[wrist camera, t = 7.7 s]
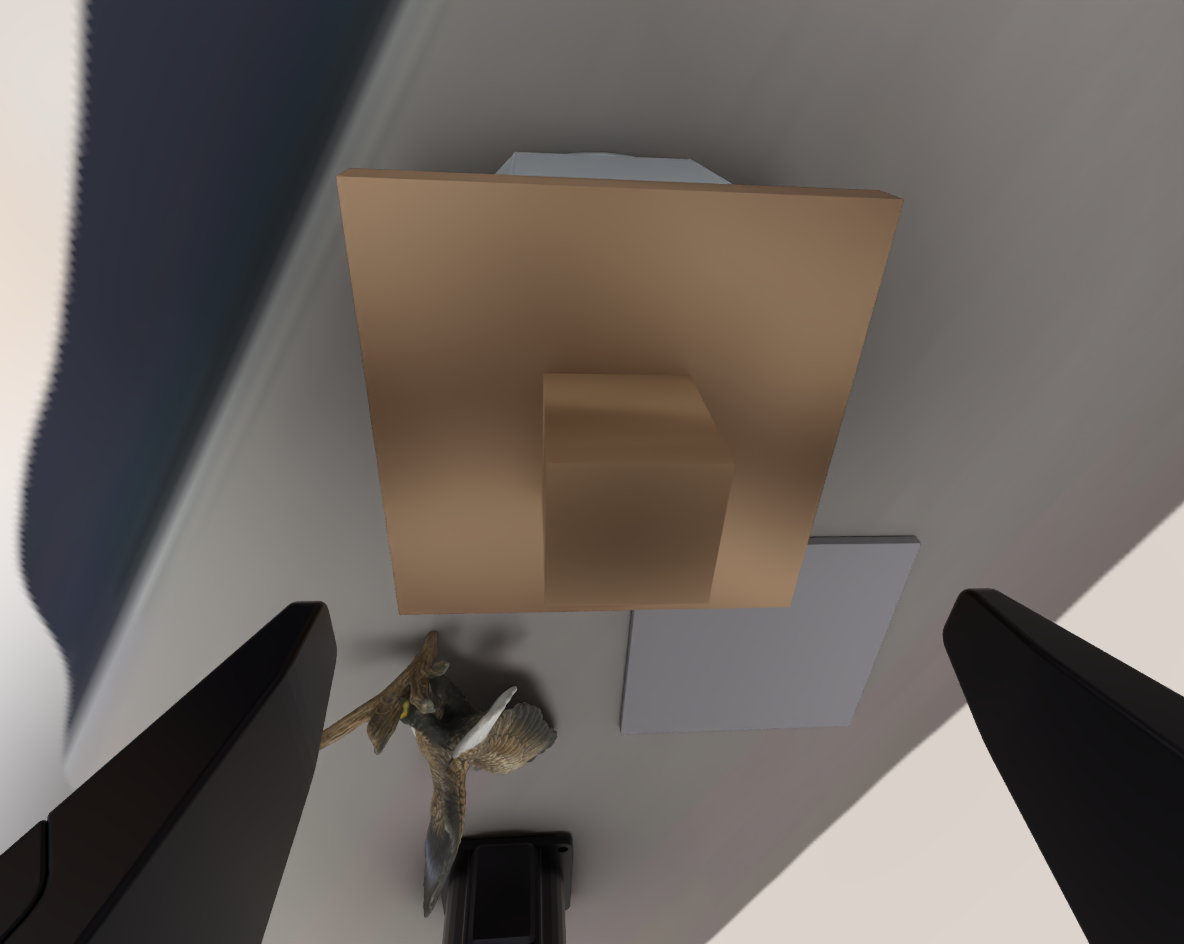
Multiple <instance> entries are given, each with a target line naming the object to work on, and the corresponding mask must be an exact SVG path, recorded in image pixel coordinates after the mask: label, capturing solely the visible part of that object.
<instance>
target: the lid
mask: <svg viewBox="0 0 1184 944" xmlns="http://www.w3.org/2000/svg"><path fill="white" fill-rule="evenodd" d="M336 180H337V187H338V194H339V201H340V208H341V215H342V221H343V228H344V235H345V242H346V249H347V256H348V263H349V270H350V277H351V284H352V291H353V298H354V305H355V312H356V319H357V326H358V332H359V339H360V346H361V353H362V360H363V367H364V374H365V381H366V388H367V395H368V402H369V409H370V416H371V423H372V430H373V436H374V443H375V450H376V457H377V464H378V471H379V478H380V485H381V492H382V499H383V506H384V513H385V520H386V527H387V534H388V541H389V547H390V554H391V561H392V568H393V575H394V582H395V589H396V596H397V603H398V610H399V615H412V614H464V613H516V612H567V611H619V610H671V609H722V608H774V607H790V604H791V601H792V597H793V593H794V590H795V586H796V583H797V579H798V576H799V572H800V569H801V565H802V561H803V558H804V554H805V551H806V547H807V544H808V540H809V537H810V533H811V529H812V526H813V522H814V519H815V515H816V512H817V508H818V504H819V501H820V497H821V494H822V490H823V487H824V483H825V480H826V476H827V472H828V469H829V465H830V462H831V458H832V455H833V451H834V447H835V444H836V440H837V437H838V433H839V430H840V426H841V423H842V419H843V415H844V412H845V408H846V405H847V401H848V398H849V394H850V390H851V387H852V383H853V380H854V376H855V373H856V369H857V366H858V362H859V358H860V355H861V351H862V348H863V344H864V341H865V337H866V333H867V330H868V326H869V323H870V319H871V316H872V312H873V309H874V305H875V301H876V298H877V294H878V291H879V287H880V284H881V280H882V276H883V273H884V269H885V266H886V262H887V259H888V255H889V252H890V248H891V244H892V241H893V237H894V234H895V230H896V227H897V223H898V220H899V216H900V212H901V209H902V205H903V202H904V199H902V198H899V197H896V196H893V195H891V194H888V193H885V192H882V191H880V190H858V189H834V188H811V187H787V186H763V185H739V184H715V183H692V182H668V181H644V180H620V179H596V178H573V177H549V176H525V175H501V174H477V173H454V172H430V171H406V170H382V169H358V168H349V169H348V170H346V171H344V172H342V173H341V174H339V175H337V176H336Z"/></svg>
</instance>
